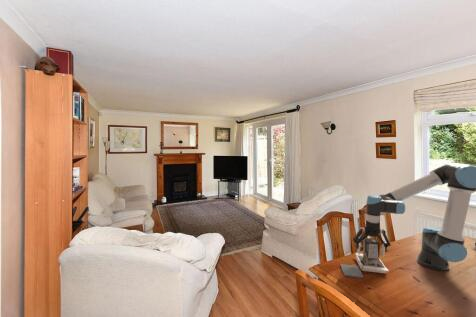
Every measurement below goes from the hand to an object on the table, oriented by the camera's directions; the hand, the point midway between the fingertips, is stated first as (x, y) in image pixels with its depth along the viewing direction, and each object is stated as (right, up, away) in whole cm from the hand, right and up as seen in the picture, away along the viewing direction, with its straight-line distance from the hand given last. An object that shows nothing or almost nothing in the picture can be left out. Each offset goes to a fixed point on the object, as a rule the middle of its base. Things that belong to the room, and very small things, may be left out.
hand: (370, 254), depth 143 cm
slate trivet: (-15, -8, -5) cm, 17 cm away
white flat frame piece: (0, -7, 0) cm, 7 cm away
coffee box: (0, -7, 0) cm, 7 cm away
